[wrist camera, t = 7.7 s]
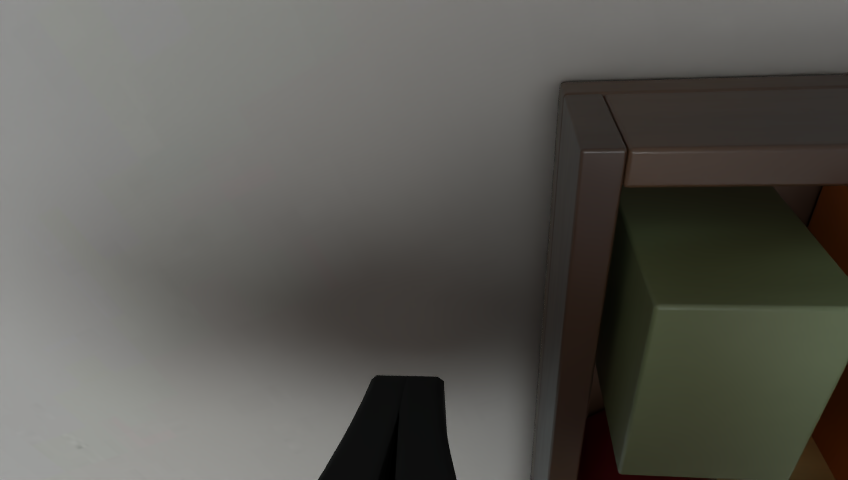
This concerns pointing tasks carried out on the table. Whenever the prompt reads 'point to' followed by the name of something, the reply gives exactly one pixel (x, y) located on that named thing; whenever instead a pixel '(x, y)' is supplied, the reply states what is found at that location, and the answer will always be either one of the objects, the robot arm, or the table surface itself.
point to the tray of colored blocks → (697, 282)
